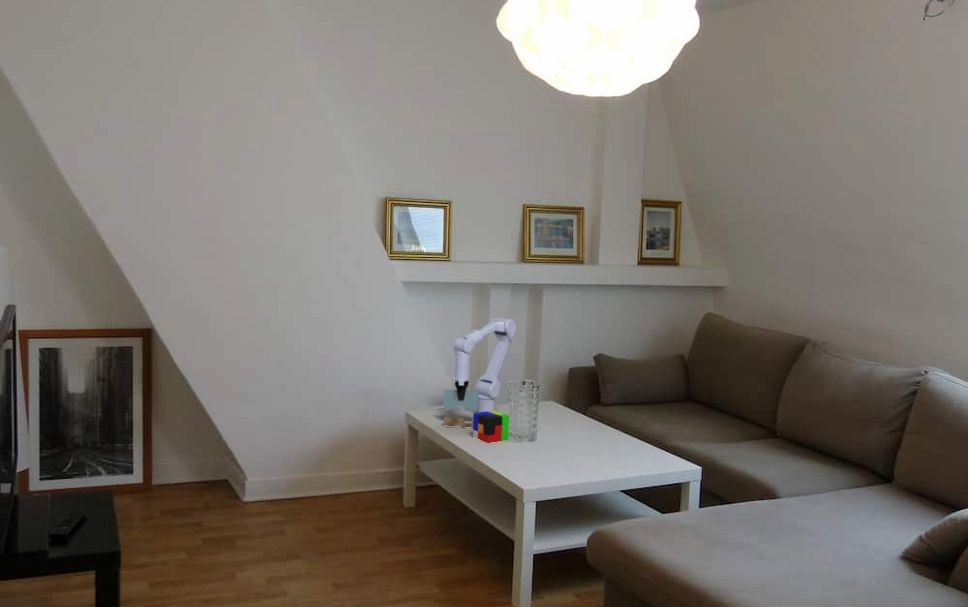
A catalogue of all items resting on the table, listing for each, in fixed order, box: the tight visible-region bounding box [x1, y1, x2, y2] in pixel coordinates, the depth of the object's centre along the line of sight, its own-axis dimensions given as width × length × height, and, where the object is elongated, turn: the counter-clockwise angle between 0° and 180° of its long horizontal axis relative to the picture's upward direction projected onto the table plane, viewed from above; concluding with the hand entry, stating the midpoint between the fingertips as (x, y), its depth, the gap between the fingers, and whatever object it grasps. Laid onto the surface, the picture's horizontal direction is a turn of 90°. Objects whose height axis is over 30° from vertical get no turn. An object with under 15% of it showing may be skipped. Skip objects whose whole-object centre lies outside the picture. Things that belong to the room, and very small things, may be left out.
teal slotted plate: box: [443, 389, 478, 412], centre depth 381 cm, size 14×2×8 cm, turn 89°
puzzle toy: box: [472, 410, 510, 444], centre depth 360 cm, size 10×10×10 cm
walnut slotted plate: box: [443, 416, 473, 428], centre depth 376 cm, size 20×2×4 cm, turn 80°
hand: (461, 399), depth 381 cm, fingers closed on teal slotted plate, 2 cm apart
